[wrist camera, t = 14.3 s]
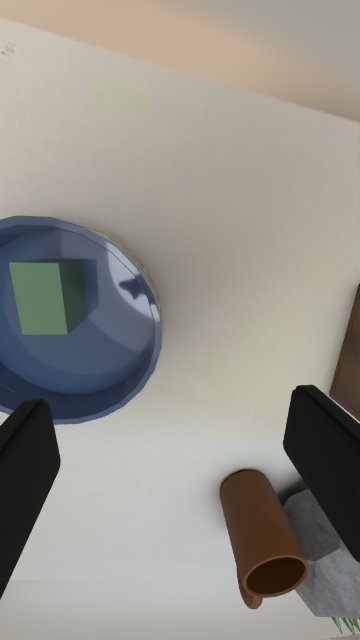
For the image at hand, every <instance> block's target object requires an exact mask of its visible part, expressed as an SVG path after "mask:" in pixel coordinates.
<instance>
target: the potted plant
mask: <svg viewBox="0 0 360 640" xmlns="http://www.w3.org/2000/svg"><path fill="white" fill-rule="evenodd" d="M282 508H283V510H284V512H285V514H286V516H287V518H288V520H289V522H290V524H291V526H292V528H293V530H294V532H295V534H296V537H297V539H298V541H299V543H300V545H301V548H302V550H303V553H304V555H305V558H306V560H307V562H308V566H309V573H308V576H307V577H306V579H305V580H304V582H303V583H302V584H301V585H299V586H298V587H297V588H295V590H296V592H297V593H298V594H299V596H300V597H301V598H302V600H303V601H304V602H305V603H306V605H307V606H308V607H309V609H310V610H311V611H312V612H313V613H314V615H315V616H320V617H332V619H333V620H334V622H335V624H336V625H337V627H338V628H339V630H340V631H341V628H340V623H339V619H338V618H341V619H342V620H343V622H344V623H345V624H346V626H347V627H348V628H349V629H350V631H351V632H352V633H353V635H355V632H354V628H353V624H354V625H355V626H356V627H357V628H358V630H359V631H360V629H359V626H358V623H357V618H356V617H358V618H359V619H360V563H359V562H357V561H356V560H355V559H354V558H353V557H352V555H351V554H350V552H349V551H348V549H347V548H346V546H345V545H344V543H343V542H342V540H341V538H340V537H339V535H338V534H337V532H336V531H335V529H334V527H333V526H332V524H331V523H330V521H329V520H328V518H327V516H326V515H325V513H324V512H323V510H322V509H321V507H320V505H319V504H318V502H317V501H316V499H315V498H314V496H313V495H312V493H311V491H310V490H309V489H306V490H304V491H301V492H299V493H297V494H294V495H292V496H290V497H289V498H288V500H287V501H286V502H285V504H284V505H283V507H282ZM352 623H353V624H352ZM341 633H342V631H341Z"/></svg>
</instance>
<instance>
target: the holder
mask: <svg viewBox="0 0 360 640" xmlns="http://www.w3.org/2000/svg"><path fill="white" fill-rule="evenodd" d="M329 396H330V397H331V398H333V399H334V400H335V401H336V402H337V403H338V404H340V405H341V406H342V407H343V408H344V409H345V410H347V411H348V412H349V413H350V414H351V415H352V416H354V417H355V418H356V419H357V420H358V421H360V284H359V288H358V292H357V295H356V299H355V303H354V306H353V310H352V314H351V318H350V321H349V325H348V329H347V332H346V336H345V340H344V343H343V347H342V351H341V355H340V358H339V362H338V366H337V369H336V373H335V377H334V381H333V384H332V388H331V392H330V395H329Z"/></svg>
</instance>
